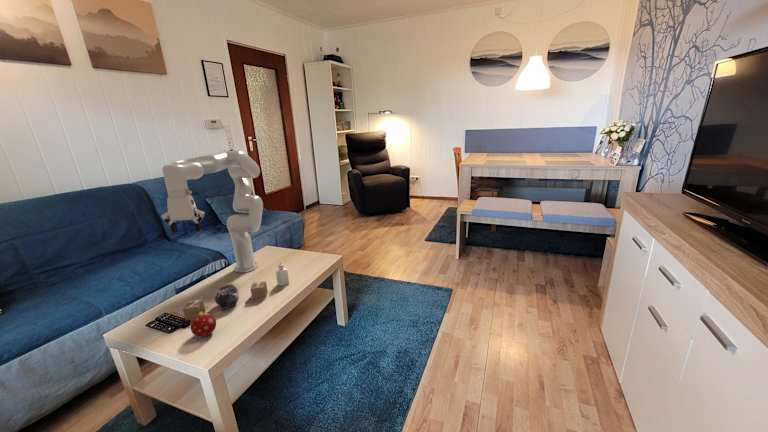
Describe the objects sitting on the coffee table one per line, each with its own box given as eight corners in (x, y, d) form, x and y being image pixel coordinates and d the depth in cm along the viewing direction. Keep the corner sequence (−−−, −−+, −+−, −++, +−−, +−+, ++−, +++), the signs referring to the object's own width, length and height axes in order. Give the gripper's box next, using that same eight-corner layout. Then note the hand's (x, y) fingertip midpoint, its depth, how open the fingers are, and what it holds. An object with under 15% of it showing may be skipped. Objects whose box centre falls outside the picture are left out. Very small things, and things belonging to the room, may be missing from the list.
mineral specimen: (221, 295, 146) (225, 277, 143) (241, 304, 146) (246, 286, 143) (207, 306, 137) (211, 288, 134) (228, 315, 137) (233, 297, 134)
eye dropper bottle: (280, 281, 161) (276, 260, 157) (290, 281, 160) (287, 260, 156) (276, 285, 156) (272, 264, 153) (286, 286, 156) (283, 264, 152)
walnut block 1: (254, 294, 150) (252, 282, 148) (267, 292, 151) (265, 280, 149) (252, 300, 144) (250, 288, 142) (266, 298, 146) (264, 286, 144)
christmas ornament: (214, 339, 118) (209, 316, 116) (189, 343, 117) (183, 320, 114) (220, 325, 126) (215, 304, 124) (197, 329, 125) (192, 307, 122)
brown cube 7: (190, 313, 136) (187, 300, 134) (205, 311, 137) (202, 298, 136) (185, 321, 131) (182, 308, 129) (201, 318, 132) (198, 306, 130)
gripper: (204, 191, 136) (211, 228, 141) (162, 193, 135) (171, 230, 139) (195, 194, 129) (203, 233, 134) (151, 196, 127) (161, 236, 132)
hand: (187, 232), depth 137 cm, fingers open, 9 cm apart
